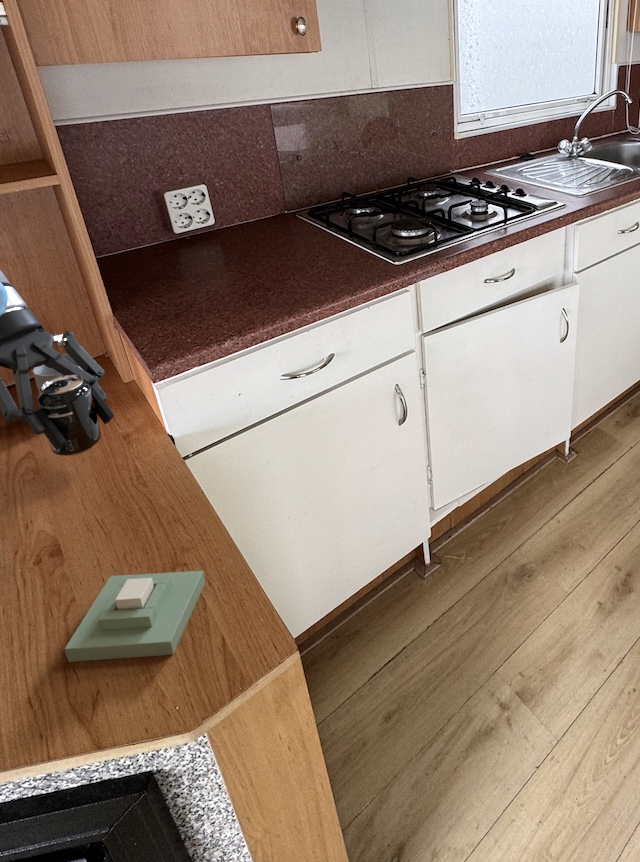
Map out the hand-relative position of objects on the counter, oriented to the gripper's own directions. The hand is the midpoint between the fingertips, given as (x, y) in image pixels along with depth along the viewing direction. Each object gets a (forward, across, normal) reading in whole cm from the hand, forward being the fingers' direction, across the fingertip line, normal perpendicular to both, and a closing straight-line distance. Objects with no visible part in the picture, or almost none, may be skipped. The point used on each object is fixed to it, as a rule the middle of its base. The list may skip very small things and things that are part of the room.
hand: (86, 432), depth 93 cm
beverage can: (0, 0, -5) cm, 5 cm away
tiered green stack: (+28, +13, +14) cm, 34 cm away
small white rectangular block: (+25, +13, +16) cm, 33 cm away
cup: (-11, -11, -25) cm, 30 cm away
